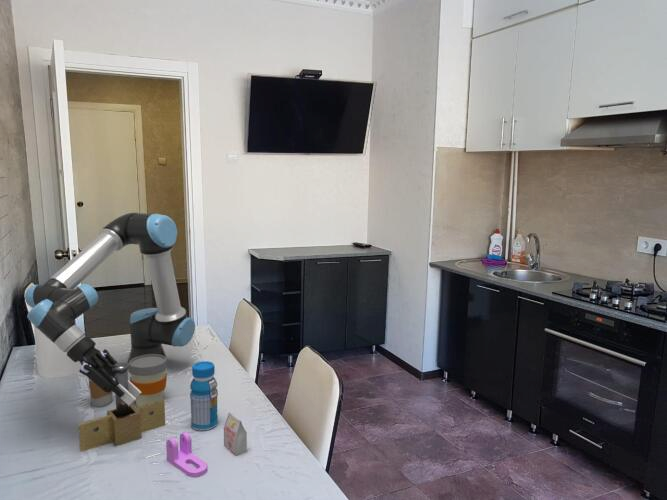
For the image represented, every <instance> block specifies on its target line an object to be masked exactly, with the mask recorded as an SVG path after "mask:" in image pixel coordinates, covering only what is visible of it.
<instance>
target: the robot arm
mask: <svg viewBox="0 0 667 500" xmlns="http://www.w3.org/2000/svg"><path fill="white" fill-rule="evenodd" d="M176 225H177V224H176V223H175V221H174V220H173V218H171V217H170V216H168V215H165V214H160V213H144V212H143V213H141V212H129V213H126V214H123V215H120V216H119V217H116V218H115V219H113V220H112V221H110V222H109V223H107V224H106V225H105V226H104V227H102V229H100V230H99V232H98V236H97V237H95V238H94V239H93V240H92V241H91V242H90V243H88V244H87V246H85V247H84V248H83V249H82V250H80V251H79V252H78V253H77V254H76V255H75V256H73V258H71V259H70V260H69V261H68V262H67V263H66V264H65V265H63V267H61V268H60V269H59V270H58V271H56V272H55V273H54V274H53V275H52V276H50V278H48V280H46V281H45V282H44V283H43V284H40V283H39V284H34V285H31V286H29V287H28V289H27V290H26V291H25V294H24V301H25V303H26V304H27V306H29V307H30V308H31V309H30V310H29V312H28V313H27V316H26V317H27V319H28V320H29V321H30V323H31V324H32V325H33V327H34V326H35V327H36V328H38V329H39V330H40V331H41V332H42V333H43V334H44V335H45V336H46V337H48V338H49V339H50V340H51V341H52V342H53V343H54V344H56V345H57V346H58V347H59V348H60V349H61V350H62V351H63V352H67V356H68V357H69V358H70V359H71V360H72V361H74V362H78V361H79V362H80V363H81V365H82V368H81V369H80V370H79V372H78V373H81V374H82V375H83V376H86V377H87V379H88V380H89V379H91V380H92V381H93V382H94V383H95V384H96V385H98V386H99V387H100V388H101V389H102V390H103V391H105V392H108V393H110V392H111V391H113V393H114V394H116V395H117V396H118V397H120V398H121V399H122V400H123V401H124V402H125V403H126V404H127V405H130V404H133V403H134V401H135V399H136V397H137V396H138V395H139V394H140V393H141V391H140V390H139V389H138V388H137V387H135V386H134V385H133V384H132V383H131V382H130V379H128V391H129V392H128V391H127V390H126V389H125V388H124V387H123V386H122V385H121V384H119V385H117V383H116V382H115V377H114V371H113V370H112V366H113V365H114V364H116V363H119V362H118V361H117V360H116V359H115V358H114V357H113V356H112V355H111V354H110V352H109V351H108V350H107V349H105V348H104V349H103V350H102V351H100V350H99V349H97V348H95V346H96V345H97V344H96V342H95V341H94V340H93V339H92V338H91V336H89V335H86V332H85V330H83V329H81V327H80V326H78V325H77V324H76V322H74V321H75V320H76V319H78V318H79V317H80V316H82V315H83V314H85V313H87V311H90V310H91V308H93V306H95V305H96V304H97V303H98V301H99V295H98V292H97V291H96V289H95V288H94V286H92V285H90V284H88V283H87V284H86V283H82V282H83V281H84V280H85V279H86V278H88V277H89V276H90V275H92V273H93V272H94V271H95V270H96V269H97V268H98V267H100V265H102V264H103V263H104V262H105V261H106V260H107V258H109V257H110V256H111V255H112V254H113V253H114V252H115V251H116V252H118V251H120V250H122V249H123V248H124V247H125V246H126V247H127V246H128V245H138V246H139V247H138V248H139V251H140V254H141V255H143V256H145V258H146V261H147V266H148V267H147V268H148V271H149V276H150V277H149V278H150V281H151V286H152V290H153V294H154V298H155V299H154V300H155V303H156V307H148V308H142V309H139V310H136V311H134V312H132V313H131V314H130V317H129V319H130V320H129V321H130V322H129V329H130V330H129V332H130V345H131V346H130V347H131V348H130V351H129V353H128V354H129V355H128V358H127V361H126V363H129V362H130V360H132V359H133V358H135V357H138V356H142V355H148V354H158V355H163V356H165V357H166V359H168V358H167V355H166V352H165V350H164V348H163V345H166V346H172V347H179V348H180V347H181V348H182V347H185V346H187V345H188V344H189V343H190V342H191V340H192V338H193V337H194V334H195V331H196V322H195V319H193V318H191V317H188V315H187V310H186V308H184V307H182V305H181V301H180V296H179V290H178V285H177V281H176V275H175V271H174V265H173V260H172V256H171V255H172V254H171V251H172V250H173V248H174V245H175V243H176V241H177V240H178V239H177V237H178V229H177V226H176ZM81 283H82V284H81ZM32 307H33V308H32ZM82 330H83V331H82ZM112 377H113V378H112Z"/></svg>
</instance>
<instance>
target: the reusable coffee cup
mask: <svg viewBox="0 0 667 500" xmlns="http://www.w3.org/2000/svg"><path fill="white" fill-rule="evenodd" d="M166 357H167V356H166ZM166 357H165V356H163V355H158V354H148V355H142V356H138V357H135V358H133V359H132V360H130V362H129V369H128V374H130V375H129V376H130V377H129V381H130V382H131V383H132V384H133V385H134V386H135V387H137V388H138V389H139V390H140V391H141V393H140V394H139V395H138V396H137V397H136V399H135V400H134V401H135V405H136V407H140V406H143V405H147V404H150V403H154V402H157V401H161V400H164V397H165V389H166V387H167V380H168V379H167V378H168V373H167V369H168V361H167V359H168V358H167V359H166Z"/></svg>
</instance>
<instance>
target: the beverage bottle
mask: <svg viewBox="0 0 667 500" xmlns="http://www.w3.org/2000/svg"><path fill="white" fill-rule="evenodd" d="M215 370H216V369H215V364H214V362H212V361H206V360H205V361H204V360H203V361H199V362H196V363H194V364H192V368H191V373H192V374H191V375H192V380H191V383H190V385H189V387H190V388H189V389H190V393H189V398H190V413H191V416H190V417H191V418H190V419H191V420H190V421H191V422H190V424H191V427H192V429H193V430H196V431H208V430H212V429H214V428H215V427H216V426H217V425H218V422H219V419H218V394H219V393H218V389H217V387H218V382H217V379H216V378H215V376H214V375H215V374H216V373H215Z"/></svg>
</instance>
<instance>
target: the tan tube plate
mask: <svg viewBox="0 0 667 500" xmlns="http://www.w3.org/2000/svg"><path fill="white" fill-rule="evenodd" d="M165 401H166V400H164V399H163V400H161V401H157V402H154V403H150V404H147V405H143V406H140V407H138V406H134V404H133V403H131V404H130V405H129V414H127V415H125V416H117V415H116V408H113V409H108V410H106V415H105V416H101V417H98V418H95V419H91V420H87V421H84V422H81V423H78V439H79V451H80V452H85V451H89V450H91V449H93V448H97V447H100V446H103V445H106V444H110V443H113V444H114V446H115V447H118V446H121V445H124V444H126V443H131V442H133V441H137V440H140V439H142V433H144V432H147V431H151V430H153V429H157V428H159V427H164V426H166V411H165V410H166V408H165V407H166V405H165V404H166V403H165Z"/></svg>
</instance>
